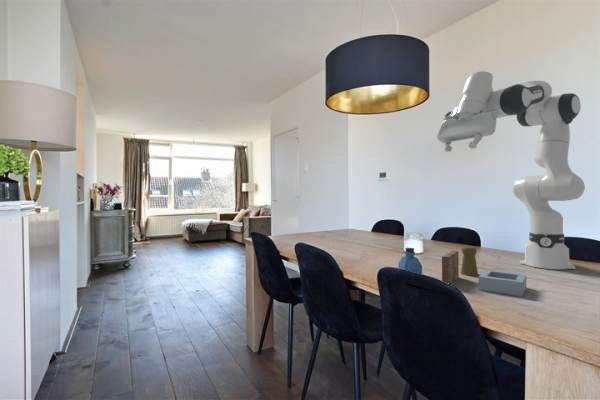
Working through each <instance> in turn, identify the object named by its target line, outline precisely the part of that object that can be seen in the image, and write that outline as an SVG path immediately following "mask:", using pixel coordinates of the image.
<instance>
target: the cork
mask: <svg viewBox="0 0 600 400" xmlns="http://www.w3.org/2000/svg"><path fill="white" fill-rule="evenodd" d="M477 251H478V250H477V247H475V246H472V245H464V246H462V248H461V252H462V255H463V256H462V262H461V263H462V264H461V269H460V270H461V271H460V274H461V275H463V276H468V277H470V276H471V277H476V276H478V275H479V272H478V265H477V260H476V255H477V253H478V252H477Z"/></svg>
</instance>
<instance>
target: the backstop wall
mask: <svg viewBox="0 0 600 400" xmlns="http://www.w3.org/2000/svg"><path fill="white" fill-rule="evenodd" d="M459 263H460V261H459V250H451V251H449V252H447V253H446V254H444V255H442V256H441V282H442V281H443V282H446V283H449V284H450V285H451V284H452V283H454V282H455V281H456V280H457V279H458V278H459V271H460V270H459V267H460V266H459Z"/></svg>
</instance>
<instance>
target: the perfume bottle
mask: <svg viewBox="0 0 600 400" xmlns="http://www.w3.org/2000/svg"><path fill="white" fill-rule="evenodd" d="M404 249H405V251H404V254H405V256H402V257H401V258H400V260H399V261H398V270H399V269H403V270H407V271H411V272H415V273H419V274H422V275H423V265H422V263H421V261H420V260H419V259H418V257H416V256H415V254H416V252H415V247H405V248H404Z"/></svg>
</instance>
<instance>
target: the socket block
mask: <svg viewBox="0 0 600 400" xmlns="http://www.w3.org/2000/svg"><path fill="white" fill-rule="evenodd" d="M526 289H527V274H524V273H517V272H508V271H507V272H506V271H501V270H500V271H499V270H490V269H485V270H483V272H482V273H481V274H480V275H479V276H478V290H479V291H483V292H484V291H485V292H490V293H497V294H504V295H510V296H515V297H523V296H524V294H525V293H526V292H525V291H526Z"/></svg>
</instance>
